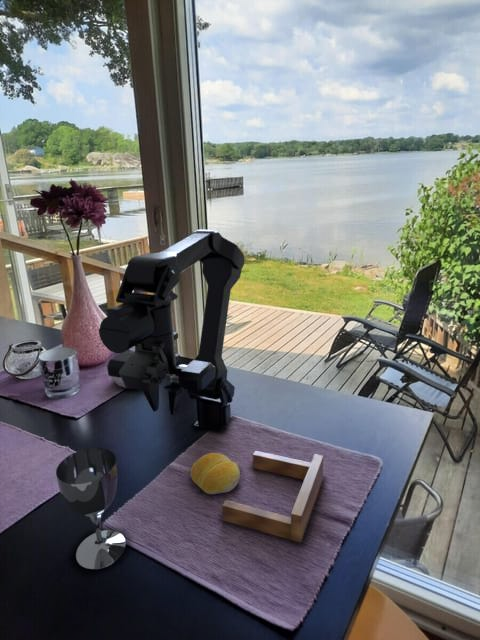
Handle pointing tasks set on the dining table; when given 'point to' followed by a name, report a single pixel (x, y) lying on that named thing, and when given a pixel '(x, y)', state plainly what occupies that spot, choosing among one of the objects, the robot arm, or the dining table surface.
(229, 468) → the bread roll
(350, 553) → the dining table surface
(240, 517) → the open wooden frame
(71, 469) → the wine glass
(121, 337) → the robot arm
